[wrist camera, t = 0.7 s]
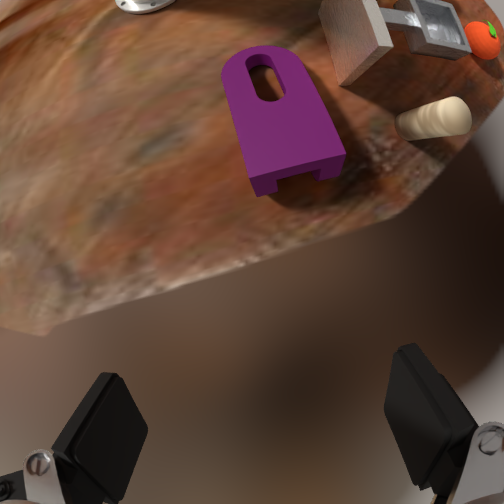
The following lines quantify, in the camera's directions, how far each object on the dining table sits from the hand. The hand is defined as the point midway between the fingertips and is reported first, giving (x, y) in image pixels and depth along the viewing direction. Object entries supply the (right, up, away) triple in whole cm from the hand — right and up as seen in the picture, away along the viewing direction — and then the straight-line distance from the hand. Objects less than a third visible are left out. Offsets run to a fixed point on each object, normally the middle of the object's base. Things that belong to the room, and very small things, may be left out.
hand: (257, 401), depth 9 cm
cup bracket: (+17, +33, +20) cm, 42 cm away
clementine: (+37, +40, +18) cm, 57 cm away
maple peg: (+21, +22, +23) cm, 38 cm away
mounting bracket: (+2, +22, +24) cm, 33 cm away
